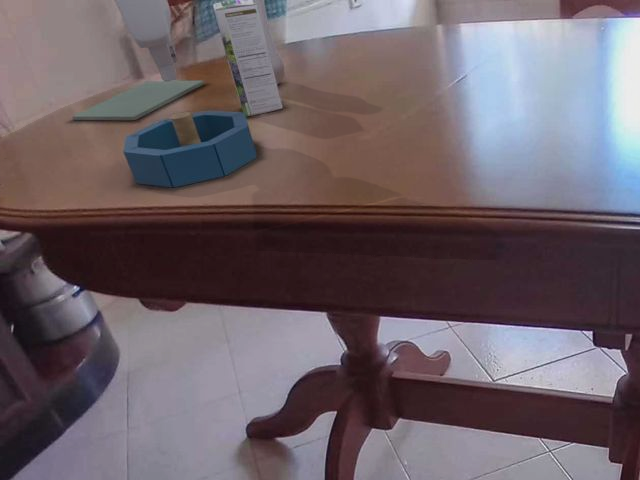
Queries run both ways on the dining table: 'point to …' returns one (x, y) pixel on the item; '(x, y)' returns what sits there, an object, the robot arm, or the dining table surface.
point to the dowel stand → (185, 128)
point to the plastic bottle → (270, 43)
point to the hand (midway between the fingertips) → (171, 70)
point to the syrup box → (248, 56)
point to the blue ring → (190, 150)
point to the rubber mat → (138, 100)
